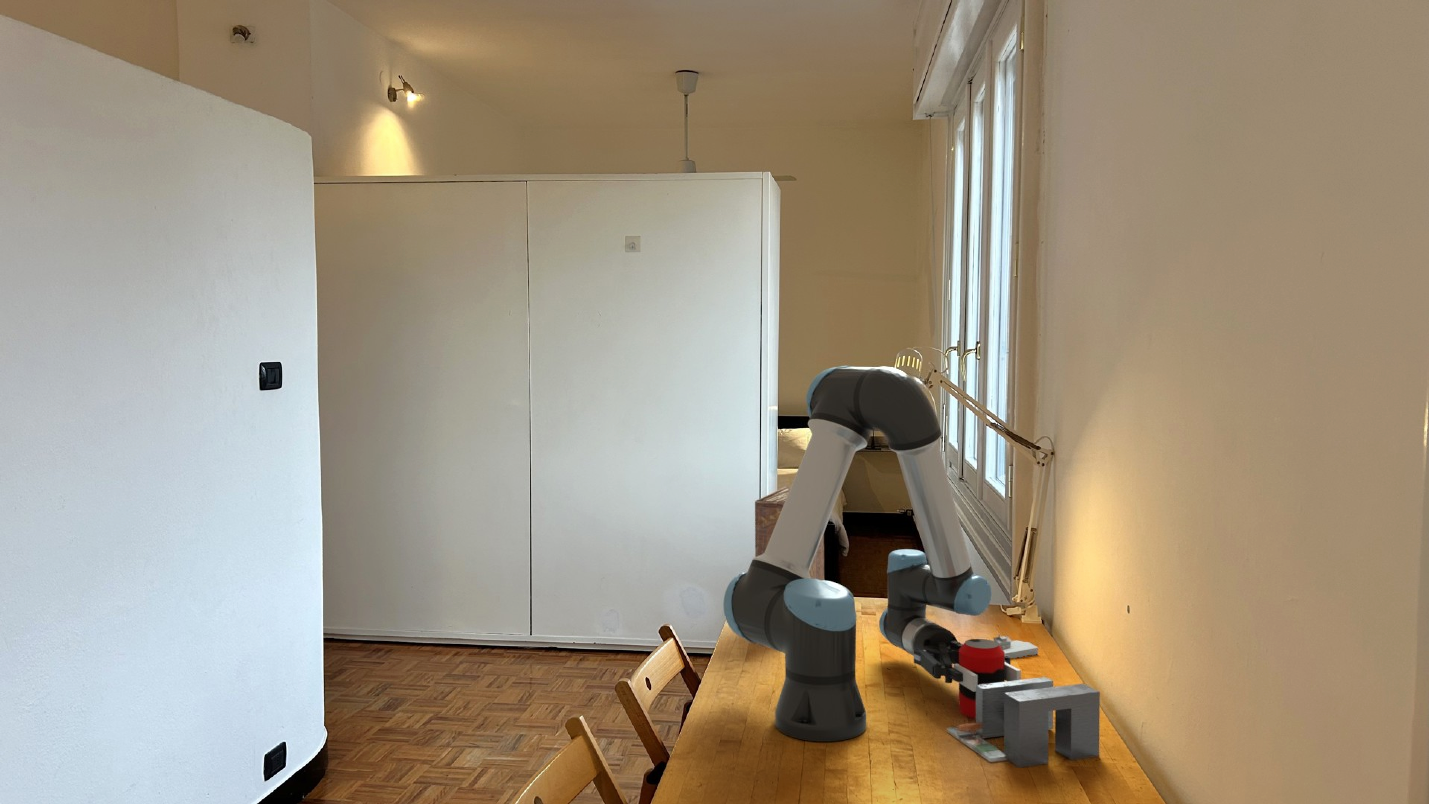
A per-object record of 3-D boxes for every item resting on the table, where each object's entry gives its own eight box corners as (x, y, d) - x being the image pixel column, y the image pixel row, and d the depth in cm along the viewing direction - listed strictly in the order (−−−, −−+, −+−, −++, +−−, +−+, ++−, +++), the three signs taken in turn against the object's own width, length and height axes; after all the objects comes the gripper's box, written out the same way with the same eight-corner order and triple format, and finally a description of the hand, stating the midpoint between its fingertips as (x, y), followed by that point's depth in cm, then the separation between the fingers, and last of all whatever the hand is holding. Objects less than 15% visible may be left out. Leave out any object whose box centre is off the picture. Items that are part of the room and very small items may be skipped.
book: (787, 609, 244) (786, 485, 243) (824, 612, 241) (824, 487, 239) (755, 637, 220) (754, 500, 219) (796, 641, 217) (795, 502, 216)
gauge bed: (1001, 770, 150) (1001, 703, 149) (947, 731, 165) (947, 671, 164) (1099, 756, 154) (1099, 691, 154) (1037, 719, 170) (1037, 661, 169)
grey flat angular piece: (999, 642, 216) (999, 625, 216) (1044, 654, 207) (1045, 636, 207) (963, 653, 209) (963, 634, 209) (1008, 666, 200) (1008, 647, 200)
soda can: (986, 702, 178) (986, 635, 178) (1013, 716, 171) (1014, 646, 171) (950, 708, 176) (950, 640, 175) (976, 723, 169) (976, 652, 168)
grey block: (979, 753, 155) (979, 701, 155) (955, 736, 162) (955, 687, 162) (1071, 740, 160) (1072, 690, 160) (1045, 724, 167) (1045, 676, 166)
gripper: (978, 657, 193) (1050, 696, 171) (881, 668, 188) (942, 709, 166) (978, 619, 193) (1050, 653, 171) (881, 628, 187) (942, 664, 165)
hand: (997, 680), depth 168 cm, fingers closed on soda can, 7 cm apart
